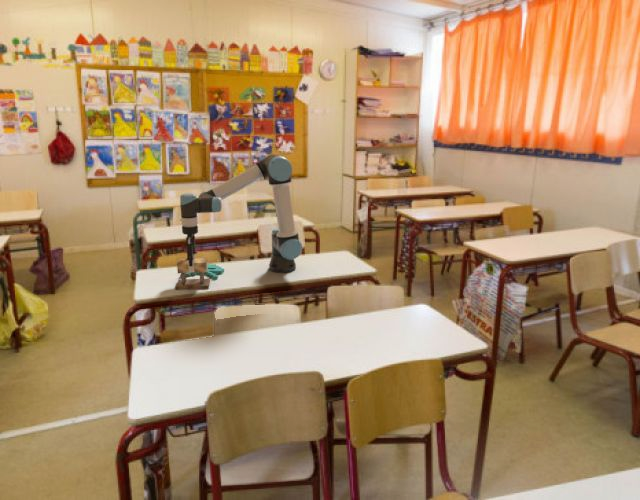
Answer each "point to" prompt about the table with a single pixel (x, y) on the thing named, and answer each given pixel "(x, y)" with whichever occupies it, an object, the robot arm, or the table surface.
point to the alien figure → (209, 271)
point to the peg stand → (192, 282)
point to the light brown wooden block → (199, 265)
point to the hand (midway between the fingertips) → (192, 269)
